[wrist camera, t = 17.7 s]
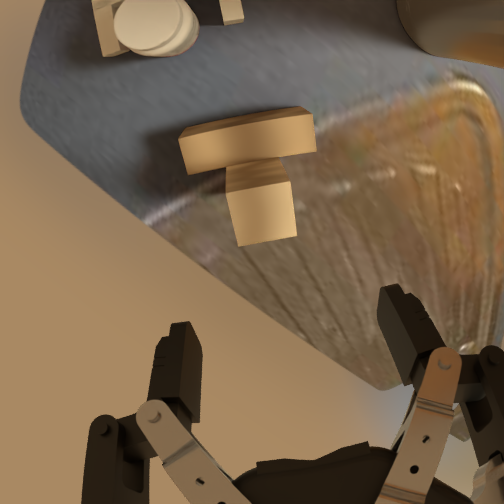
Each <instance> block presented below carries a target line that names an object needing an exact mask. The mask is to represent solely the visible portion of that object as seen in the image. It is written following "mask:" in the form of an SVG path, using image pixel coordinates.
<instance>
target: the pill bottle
mask: <svg viewBox="0 0 504 504" xmlns="http://www.w3.org/2000/svg"><path fill="white" fill-rule="evenodd" d="M114 32H115V35H116V37H117V38H118V40H119V41H120V42H121V43H122V44H123V45H125V46H126V47H128V48H129V49H130V50H132V51H133V52H135V53H137V54H140V55H144V56H157V57H171V56H176V55H179V54H182V53H183V52H185V51H187V50H188V49H189V48H190V47H191V46H192V45H193V44H194V43H195V41H196V39H197V37H198V35H199V21H198V18H197V16H196V15H195V14H194V12H193V11H192V10H191V8H190V7H189V5H188V4H187V3H186V2H185V1H184V0H125V1H124V2H123V3H122V4H121V5H120V7H119V8H118V10H117V12H116V14H115V17H114Z"/></svg>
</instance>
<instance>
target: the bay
mask: <svg viewBox="0 0 504 504" xmlns="http://www.w3.org/2000/svg"><path fill="white" fill-rule="evenodd" d="M124 1H125V0H92V6H93V11H94V17H95V22H96V27H97V32H98V36H99V41H100V46H101V50H102V54H103V57H114V56H117V55H119V54H122V53H125V52H128V51H130V49H129V48H128V47H126V46H125V45H123V44H122V43H121V42H120V41H119V40H118V38H117V37H116V35H115V32H114V17H115V14H116V12H117V10H118V8H119V7H120V5H121V4H122V3H123V2H124ZM219 3H220V7H221V12H222V17H223V22H224V26H225V25H231V24H236V23H243V20H244V14H243V10H242V5H241V0H219Z"/></svg>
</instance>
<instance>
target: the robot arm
mask: <svg viewBox="0 0 504 504" xmlns="http://www.w3.org/2000/svg"><path fill="white" fill-rule="evenodd" d="M396 2H397V10H398V14H399V18H400V20H401V22H402V25H403V27H404V29H405V30H406V32H407V33H408V35H409V36H410V38H411V39H412V40H413V41H414V42H415V43H416V44H417V45H418V46H419V47H420V48H421V49H423V50H424V51H426V52H428V53H429V54H431V55H434V56H437V57H443V58H450V59H457V60H463V61H468V62H473V63H479V64H484V65H489V66H493V67H498V68H502V69H504V0H396ZM377 320H378V324H379V327H380V329H381V331H382V333H383V336H384V338H385V340H386V343H387V345H388V347H389V350H390V352H391V355H392V357H393V359H394V362H395V364H396V367H397V369H398V372H399V374H400V377H401V379H402V382H403V384H404V386H407V385H410V384H413V387H414V389H415V390H414V392H413V395H412V397H411V400H410V403H409V406H408V409H407V411H406V414H405V417H404V419H403V422H402V424H401V427H400V429H399V431H398V433H397V435H396V438H395V439H394V441H393V444H392V446H391V448H390V450H389V449H386V448H382V447H373V446H372V447H369V444H368V441H367V442H363V443H359V444H355V445H352V446H347V447H343V448H340V449H338V450H336V451H334V452H332V453H330V454H327V455H325V456H323V457H321V458H318V459H316V460H295V459H277V460H269V461H260V462H257V463H256V464H257V467H256V468H253V469H251V470H249V471H247V472H245V473H243V474H242V475H240V476H239V477H238V478H237V479H235V480H234V479H233V478H232V477H231V476H230V475H229V474H228V473H227V472H226V471H225V470H224V469H223V468H222V467H221V466H220V465H219V464H218V463H217V461H216V460H215V459H214V458H213V457H212V456H211V455H210V454H209V452H208V451H207V450H206V449H205V448H204V447H203V446H202V444H201V443H200V442H199V441H198V440H197V438H196V437H195V436H194V435H193V434H192V432H191V425H192V423H199V422H200V400H201V378H202V357H203V354H202V347H201V344H200V342H199V340H198V337H197V335H196V333H195V331H194V329H193V327H192V325H191V323H190V322H189V321H187V322H179V323H172V324H171V327H170V333H169V336H166V337H162V338H161V340H160V341H159V343H158V345H157V346H156V350H155V355H154V361H153V368H152V373H151V379H150V386H149V392H148V397H147V401H146V402H145V403H144V404H142V405H141V406H140V408H139V409H138V411H137V412H136V413H135V414H132V415H129V416H126V417H123V418H120V419H115V418H114V417H113V416H111V415H101V416H98V417H97V418H96V419H94V421H93V422H92V423H91V426H90V430H89V436H88V443H87V450H86V458H85V467H84V476H83V489H82V501H81V504H149V466H150V464H149V463H150V458H153V457H156V456H159V457H160V459H161V460H162V461H163V464H162V465H163V467H164V469H165V471H166V472H167V474H168V475H169V476H170V478H171V479H172V480H173V482H174V483H175V484H176V486H177V487H178V488H179V490H180V491H181V492H182V493H183V495H184V496H185V497H186V498H187V500H188V501H189V502H190V503H191V504H504V351H503V350H502V349H500V348H499V347H497V346H493V345H490V346H486V347H484V348H483V349H482V350H481V352H480V354H474V355H460V354H458V353H457V352H456V351H455V350H454V349H452V348H449V347H447V346H446V345H445V344H444V342H443V340H442V338H441V336H440V334H439V333H438V331H437V329H436V327H435V325H434V324H433V322H432V320H431V318H429V315H428V313H427V311H425V308H424V306H423V305H422V303H421V301H420V300H419V299H418V298H417V297H415V296H414V295H413V294H411V293H408V294H405V293H404V292H403V290H402V288H401V287H400V285H399V284H393V285H388V286H384V287H381V288H380V293H379V300H378V307H377ZM453 403H459V404H460V407H461V410H462V412H463V415H464V418H465V421H466V424H467V427H468V430H469V433H470V437H471V440H472V443H473V446H474V450H475V453H476V457H477V460H478V464H479V468H478V469H477V471H476V472H475V475H474V478H473V492H472V495H471V497H470V498H468V497H467V496H465V495H463V494H462V493H460V492H458V491H457V490H455V489H453V488H452V487H450V486H448V485H447V484H445V483H443V482H442V481H440V480H438V479H437V478H435V477H434V475H435V472H436V470H437V467H438V464H439V462H440V459H441V456H442V453H443V450H444V447H445V444H446V441H447V438H448V434H449V431H450V428H451V424H452V421H453V417H454V410H452V406H453Z"/></svg>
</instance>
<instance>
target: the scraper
mask: <svg viewBox="0 0 504 504" xmlns="http://www.w3.org/2000/svg"><path fill="white" fill-rule="evenodd" d="M178 140H179V144H180V148H181V152H182V155H183V159H184V162H185V166H186V170H187V173H188V175H191V174H195V173H200V172H204V171H209V170H213V169H218V168H223V167H226V197H227V201H228V205H229V209H230V213H231V217H232V222H233V226H234V230H235V234H236V238H237V242H238V246H244V245H249V244H255V243H260V242H265V241H271V240H276V239H282V238H287V237H293V236H297V232H296V224H295V215H294V207H293V199H292V192H291V184H290V180H289V178H288V176H287V174H286V172H285V170H284V168H283V166H282V163H281V161H280V159H279V157H282V156H288V155H295V154H301V153H308V152H315V151H317V150H316V141H315V132H314V124H313V116H312V113H310V112H309V111H307V110H306V109H304V108H303V107H301V106H299V107H292V108H285V109H278V110H271V111H265V112H259V113H253V114H248V115H242V116H237V117H232V118H227V119H222V120H217V121H213V122H208V123H204V124H200V125H195V126H191V127H187V128H185V129H184V131H183V132H182V134H181V135H180V137H179V138H178Z"/></svg>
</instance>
